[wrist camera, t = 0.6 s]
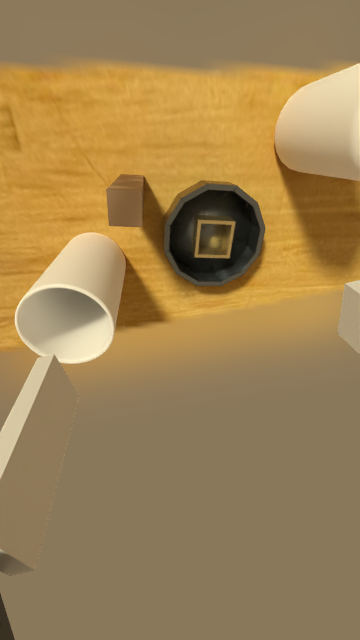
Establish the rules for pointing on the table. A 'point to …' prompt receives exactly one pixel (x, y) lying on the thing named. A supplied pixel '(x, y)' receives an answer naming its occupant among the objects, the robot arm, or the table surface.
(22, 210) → the table surface
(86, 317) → the cup
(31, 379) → the robot arm
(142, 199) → the square wooden stick
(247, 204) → the bowl
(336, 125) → the potion bottle
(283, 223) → the table surface
